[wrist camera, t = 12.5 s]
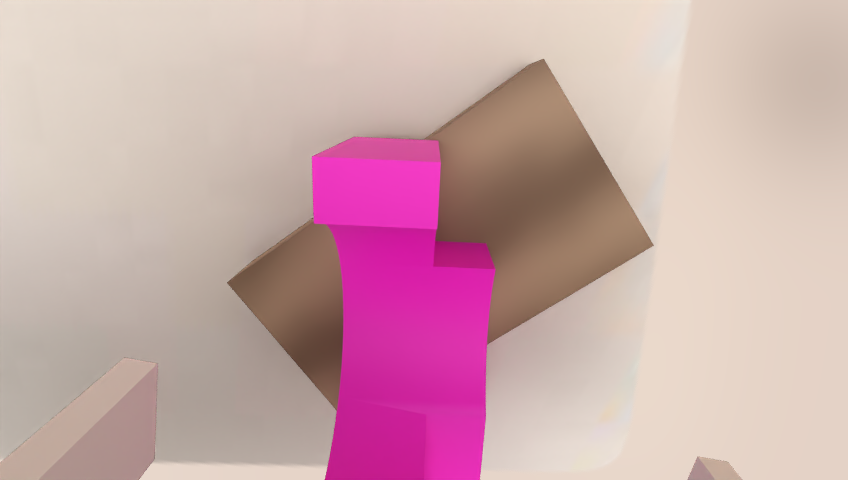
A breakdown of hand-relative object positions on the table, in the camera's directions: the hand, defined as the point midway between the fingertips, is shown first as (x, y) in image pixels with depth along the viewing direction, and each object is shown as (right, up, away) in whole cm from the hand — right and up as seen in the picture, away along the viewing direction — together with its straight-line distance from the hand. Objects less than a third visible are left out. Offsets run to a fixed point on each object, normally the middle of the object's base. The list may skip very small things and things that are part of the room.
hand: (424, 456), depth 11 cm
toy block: (0, +3, +12) cm, 12 cm away
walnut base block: (+1, +5, +15) cm, 16 cm away
